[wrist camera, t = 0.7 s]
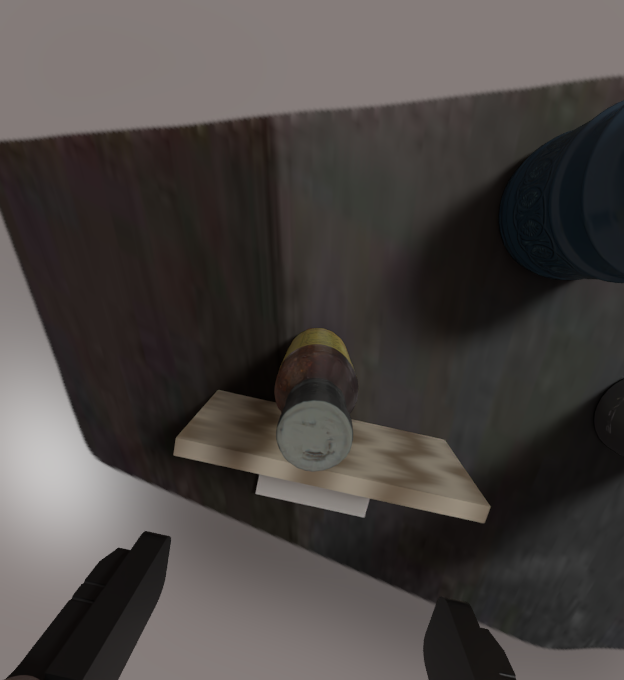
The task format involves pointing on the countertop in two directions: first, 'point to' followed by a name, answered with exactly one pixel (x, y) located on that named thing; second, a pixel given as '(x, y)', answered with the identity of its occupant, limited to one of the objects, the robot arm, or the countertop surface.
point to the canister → (570, 204)
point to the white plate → (312, 495)
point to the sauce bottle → (315, 401)
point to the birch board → (351, 473)
